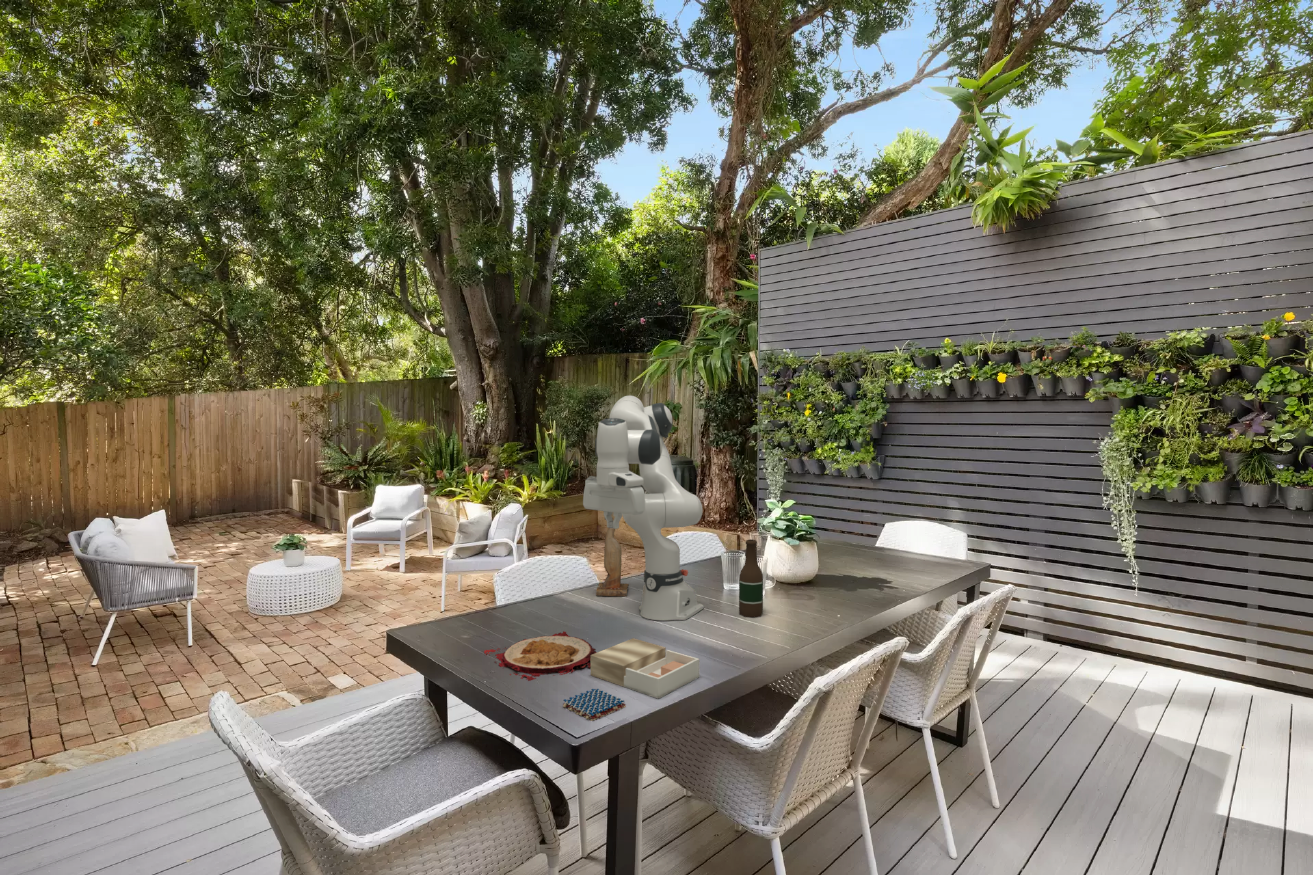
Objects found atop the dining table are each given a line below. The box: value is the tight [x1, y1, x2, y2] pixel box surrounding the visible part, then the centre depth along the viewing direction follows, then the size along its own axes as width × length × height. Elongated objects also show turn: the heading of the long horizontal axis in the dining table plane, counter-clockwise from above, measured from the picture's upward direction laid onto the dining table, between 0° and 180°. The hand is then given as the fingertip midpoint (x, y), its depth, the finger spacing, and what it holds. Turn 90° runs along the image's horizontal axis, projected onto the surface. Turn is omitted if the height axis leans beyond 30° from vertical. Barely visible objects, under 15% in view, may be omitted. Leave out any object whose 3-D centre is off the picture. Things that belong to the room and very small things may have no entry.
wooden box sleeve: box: [590, 637, 667, 688], centre depth 167 cm, size 16×11×5 cm
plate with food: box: [483, 631, 598, 682], centre depth 176 cm, size 25×26×4 cm
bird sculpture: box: [595, 512, 629, 597], centre depth 239 cm, size 11×12×32 cm
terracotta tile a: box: [661, 661, 685, 676], centre depth 163 cm, size 5×5×2 cm
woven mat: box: [562, 688, 627, 722], centre depth 146 cm, size 10×11×2 cm
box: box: [624, 649, 700, 700], centre depth 160 cm, size 16×10×4 cm, turn 141°
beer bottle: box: [738, 538, 764, 619], centre depth 213 cm, size 8×8×24 cm
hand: (613, 528), depth 182 cm, fingers closed
